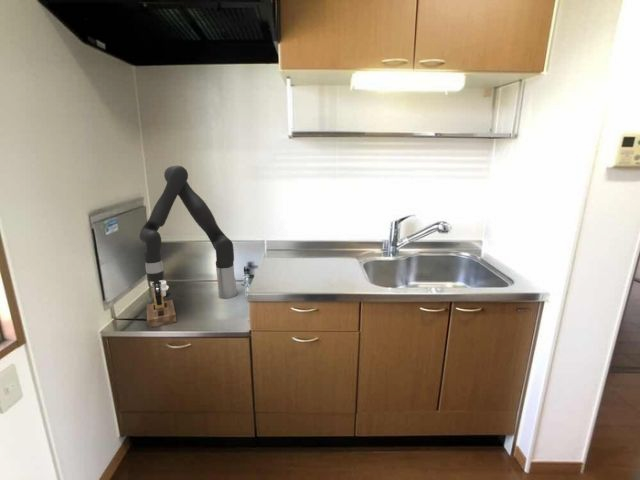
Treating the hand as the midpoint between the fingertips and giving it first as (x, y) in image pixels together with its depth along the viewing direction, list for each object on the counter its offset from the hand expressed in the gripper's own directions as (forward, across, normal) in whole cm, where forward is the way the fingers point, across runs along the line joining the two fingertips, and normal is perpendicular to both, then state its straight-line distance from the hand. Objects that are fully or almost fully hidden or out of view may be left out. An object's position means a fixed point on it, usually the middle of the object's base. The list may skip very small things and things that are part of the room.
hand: (159, 302), depth 171 cm
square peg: (+2, 0, 0) cm, 2 cm away
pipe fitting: (+6, +22, -2) cm, 23 cm away
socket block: (+6, -4, 0) cm, 7 cm away
